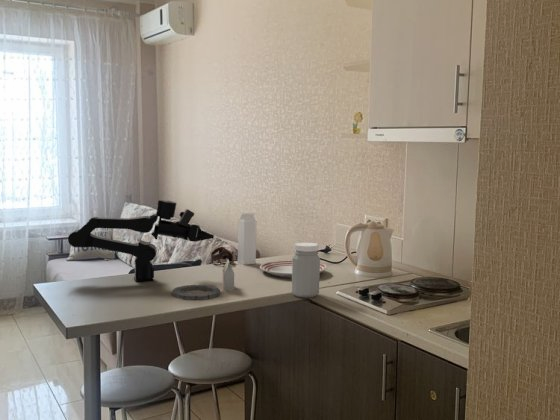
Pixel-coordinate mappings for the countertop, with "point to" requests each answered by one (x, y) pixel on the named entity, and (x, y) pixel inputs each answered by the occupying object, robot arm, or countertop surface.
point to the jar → (305, 270)
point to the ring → (178, 293)
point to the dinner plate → (283, 268)
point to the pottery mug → (221, 254)
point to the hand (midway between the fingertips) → (211, 236)
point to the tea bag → (228, 277)
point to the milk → (247, 239)
